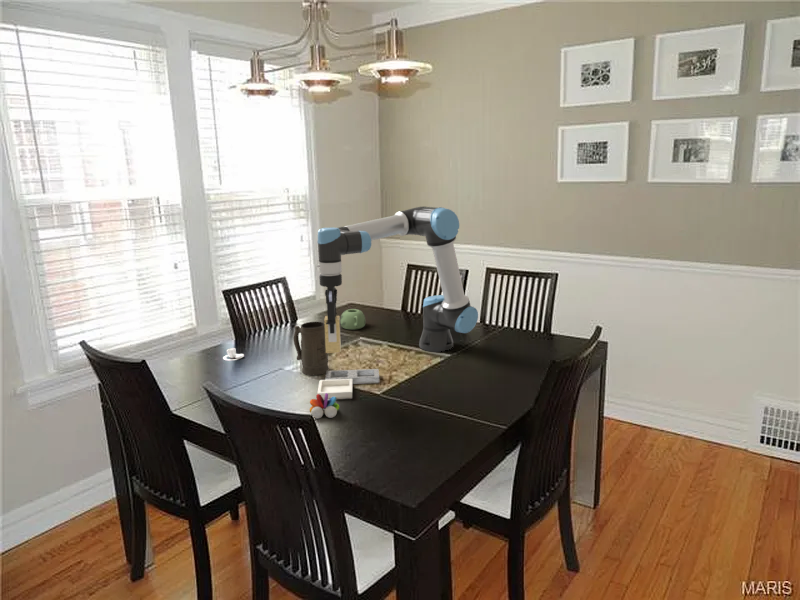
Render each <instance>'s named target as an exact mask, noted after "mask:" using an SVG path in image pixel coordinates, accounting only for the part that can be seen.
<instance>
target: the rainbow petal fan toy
mask: <svg viewBox="0 0 800 600" xmlns="http://www.w3.org/2000/svg"><path fill="white" fill-rule="evenodd" d="M309 403H310V405H311V407H310V408H309V412H310V414H312V415H313V416H314V417H315V418H314V417H313V416H312V415H311V416H312V417H313V418H314V419H321V418H322V417H323V416H324V415H325V416H326V417H327V418H329V419H332V418H334V417H336V415H337V414H338V411H339V409H340V405H339V403H337V399H336V397H332V398H330V399H328V393H325V398H324V400H323V398H322V396H321V395H320V394H317V393H316V398H313V399H310V401H309Z"/></svg>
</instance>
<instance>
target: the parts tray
mask: <svg viewBox="0 0 800 600" xmlns="http://www.w3.org/2000/svg"><path fill="white" fill-rule="evenodd" d="M353 385H354V384H353V383H352V379H333V380H325V379H319V382H318V386H317V388H318V389H317V393H316V395H317V394H320V395H321V396H322V398H323V400H324V398H325V393H328V399H330V398H332V397H336V400H348V399H349V400H351V399H353Z"/></svg>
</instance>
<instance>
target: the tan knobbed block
mask: <svg viewBox="0 0 800 600" xmlns="http://www.w3.org/2000/svg"><path fill="white" fill-rule="evenodd" d="M340 320H341V315H339V314H338V316H335V321H336V337H337V342H329V337H328V324H326V323H327V321H328V315H325V316H324V319H323V321H324V322H323V323H324V324H325V346H326V353H328V354H335V353H336V354H337V353H341V348H342V347H341V346H342V345H341V323H340Z"/></svg>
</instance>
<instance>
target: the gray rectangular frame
mask: <svg viewBox="0 0 800 600" xmlns="http://www.w3.org/2000/svg"><path fill="white" fill-rule="evenodd" d="M379 370H380V369H379V368H369V369H368V368H367V369H338V370H328V371H326V373H325V376H324V377H325V378H324V380H333V379H352V383H353V385H358V384H359V385H360V384H362V385H363V384H380V372H379Z"/></svg>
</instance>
